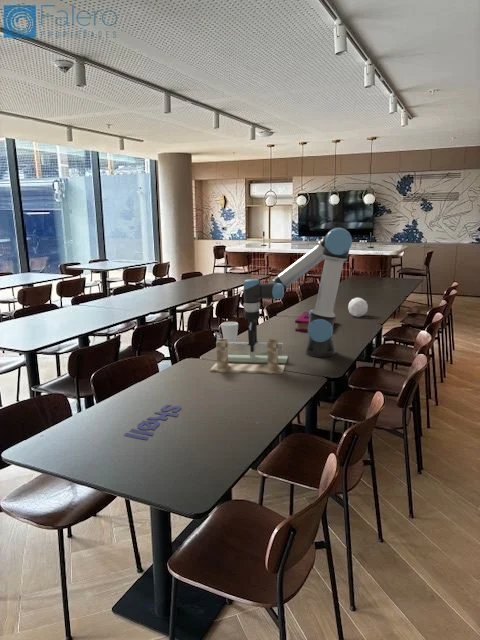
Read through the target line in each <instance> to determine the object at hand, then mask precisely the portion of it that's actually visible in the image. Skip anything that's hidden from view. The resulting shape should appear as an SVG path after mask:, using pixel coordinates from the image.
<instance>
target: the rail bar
mask: <svg viewBox="0 0 480 640" xmlns="http://www.w3.org/2000/svg"><path fill="white" fill-rule="evenodd" d="M267 342H268V341H267ZM267 342H266V341H265V342H263V341H262V342H261V341H260V342H259V341H258V342H255V355H260V356H268V354H267ZM248 344H249V341H237V342H228V355H250V345H248ZM278 356H284V343H283V342H278Z"/></svg>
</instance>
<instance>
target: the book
mask: <svg viewBox="0 0 480 640" xmlns="http://www.w3.org/2000/svg"><path fill="white" fill-rule="evenodd" d="M336 319H337V318H336V315H335V320H334V324H335V322H336ZM294 324H297V327H295V329H294V331H295V332H304V331H307V332H306V333H308V330H307V329H308V325H309V311H304V312H303V313H302V314H301V315H300V316H298V317H297V319H295V321H294Z"/></svg>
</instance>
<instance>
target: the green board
mask: <svg viewBox="0 0 480 640" xmlns="http://www.w3.org/2000/svg"><path fill="white" fill-rule="evenodd" d="M288 359H289V355H283V356H278V364H287V362H288ZM228 363H254V364H257V363H258V364H259V363H260V364H268V356H260V355H256V356H255V358H250V355H228Z"/></svg>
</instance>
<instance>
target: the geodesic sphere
mask: <svg viewBox="0 0 480 640" xmlns="http://www.w3.org/2000/svg"><path fill="white" fill-rule="evenodd" d="M368 307H369V305H368V303H367V300H365V299H363V298H362V297H353V298H352V299H351V300H350V301H349V303H348V307H347V310H348V312H349V314H351V315H352V316H353V317H357V318H360V317H363V316H365V315H366V314H367V312H368Z"/></svg>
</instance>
